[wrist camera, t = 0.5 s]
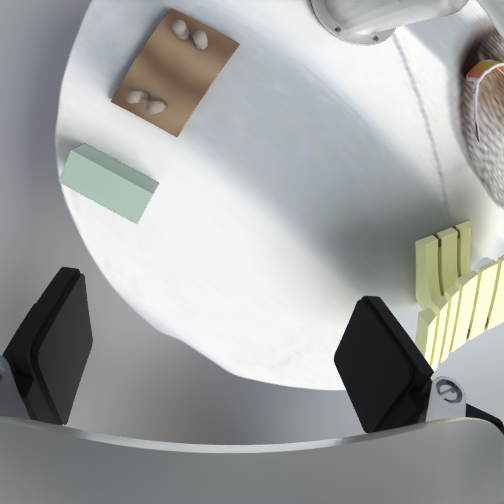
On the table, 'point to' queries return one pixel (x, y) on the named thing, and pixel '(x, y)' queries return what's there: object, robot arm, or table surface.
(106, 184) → the mint green rectangular block
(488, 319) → the slatted curved stool
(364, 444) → the robot arm
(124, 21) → the table surface
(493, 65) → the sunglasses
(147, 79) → the peg stand
